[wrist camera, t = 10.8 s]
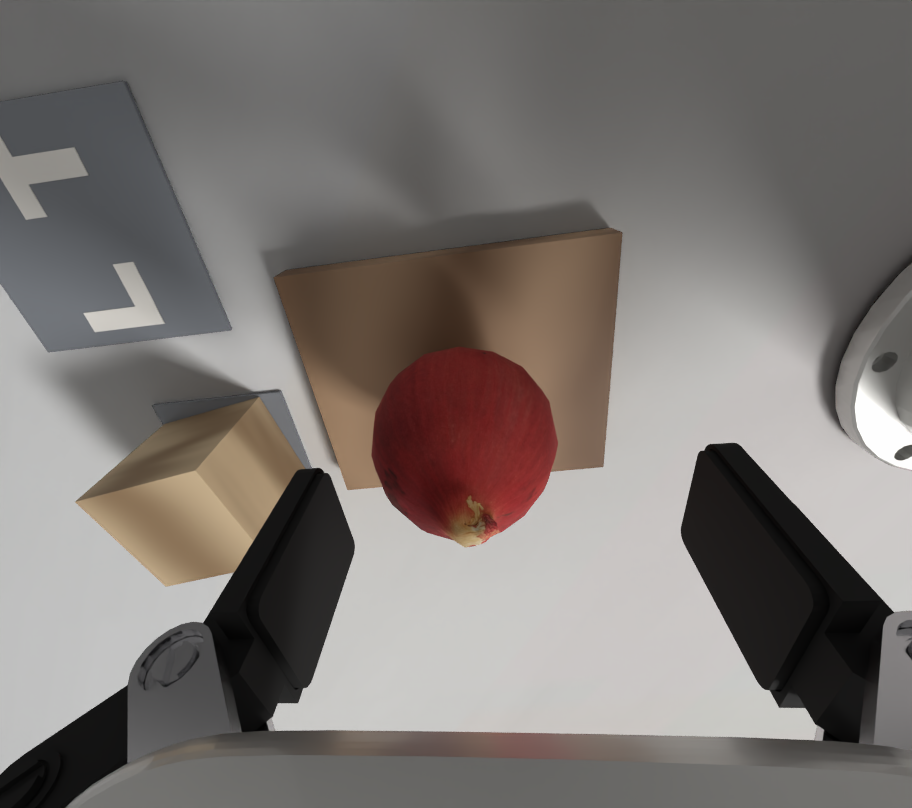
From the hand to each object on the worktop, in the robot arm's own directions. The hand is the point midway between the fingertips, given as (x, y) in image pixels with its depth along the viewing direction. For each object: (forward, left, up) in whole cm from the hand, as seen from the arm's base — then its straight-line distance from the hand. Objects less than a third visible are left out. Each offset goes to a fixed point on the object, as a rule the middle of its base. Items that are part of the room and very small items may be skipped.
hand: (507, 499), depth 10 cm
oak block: (+12, +3, -8) cm, 15 cm away
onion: (+1, 0, -7) cm, 7 cm away
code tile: (+14, -7, -8) cm, 18 cm away
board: (+1, 0, -8) cm, 8 cm away
